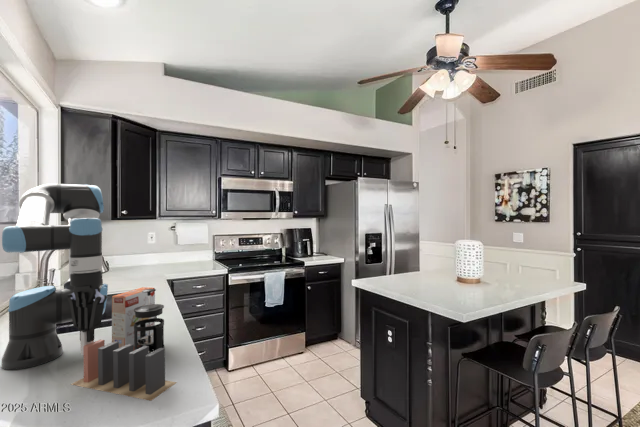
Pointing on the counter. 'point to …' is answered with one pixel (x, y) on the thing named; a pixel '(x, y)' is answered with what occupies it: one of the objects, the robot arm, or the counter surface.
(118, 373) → the domino
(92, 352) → the loose domino
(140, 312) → the french press
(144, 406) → the counter surface
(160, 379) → the domino
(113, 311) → the cracker box
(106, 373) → the domino
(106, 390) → the oak board
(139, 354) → the domino
